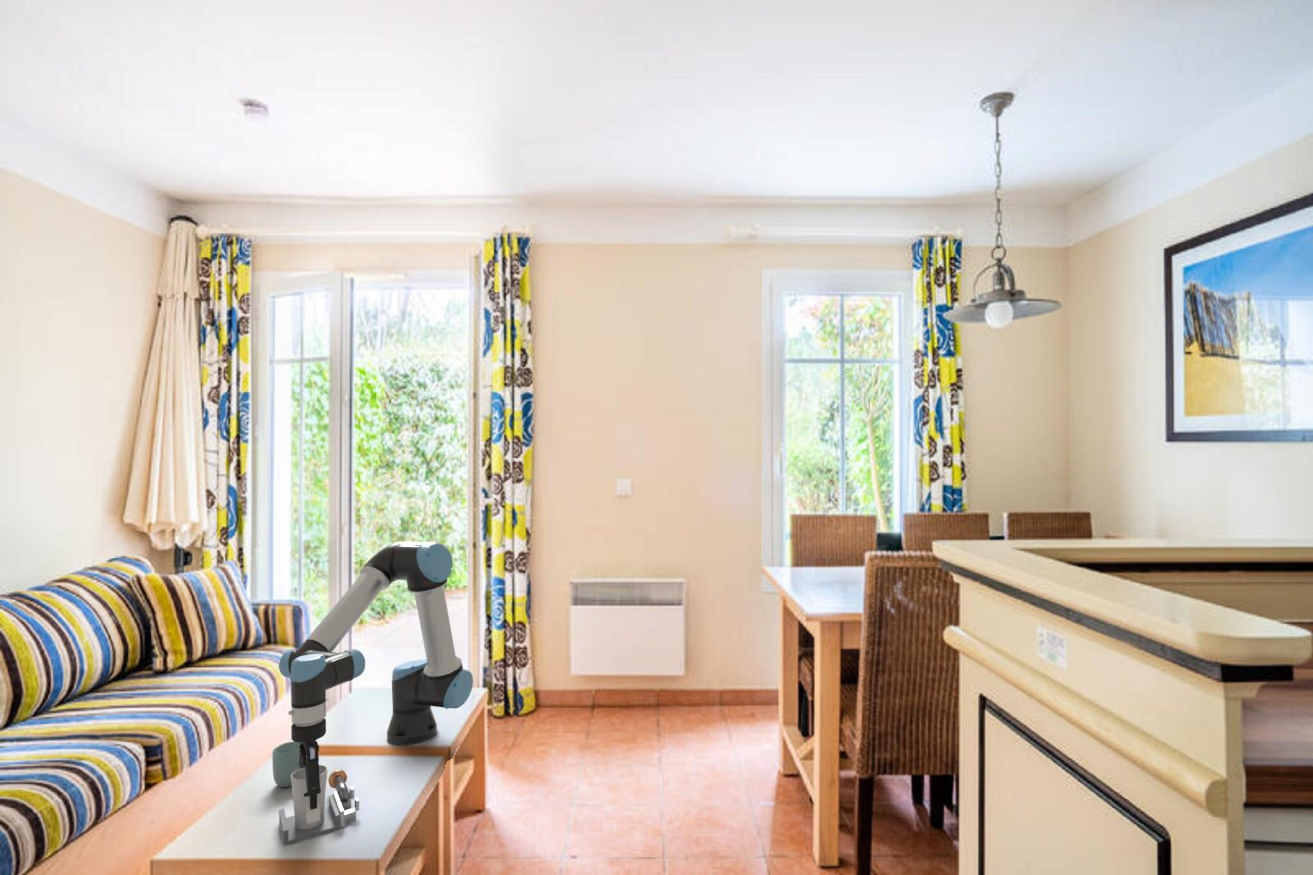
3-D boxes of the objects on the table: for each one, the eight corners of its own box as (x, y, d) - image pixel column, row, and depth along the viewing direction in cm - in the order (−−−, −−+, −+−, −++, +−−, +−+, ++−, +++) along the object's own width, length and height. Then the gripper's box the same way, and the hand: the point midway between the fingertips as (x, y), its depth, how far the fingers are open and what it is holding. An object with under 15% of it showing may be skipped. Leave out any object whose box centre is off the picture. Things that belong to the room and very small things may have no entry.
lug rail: (352, 802, 172) (352, 784, 172) (360, 822, 162) (360, 803, 162) (333, 807, 169) (332, 789, 169) (340, 828, 159) (340, 809, 160)
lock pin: (328, 788, 177) (328, 772, 177) (346, 784, 179) (346, 767, 180) (335, 809, 166) (335, 791, 166) (354, 803, 169) (354, 786, 169)
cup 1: (291, 791, 179) (290, 753, 179) (266, 789, 180) (266, 752, 180) (311, 777, 186) (311, 741, 187) (287, 776, 188) (287, 740, 188)
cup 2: (335, 816, 164) (335, 766, 164) (308, 833, 156) (308, 781, 157) (310, 811, 166) (310, 762, 167) (283, 828, 159) (282, 777, 159)
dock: (333, 807, 169) (333, 794, 169) (340, 828, 159) (340, 814, 159) (279, 823, 163) (279, 809, 163) (283, 845, 153) (283, 831, 153)
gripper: (286, 709, 170) (287, 793, 169) (296, 741, 149) (297, 837, 149) (319, 702, 174) (319, 784, 174) (333, 733, 154) (334, 826, 153)
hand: (309, 809), depth 161 cm, fingers open, 13 cm apart
